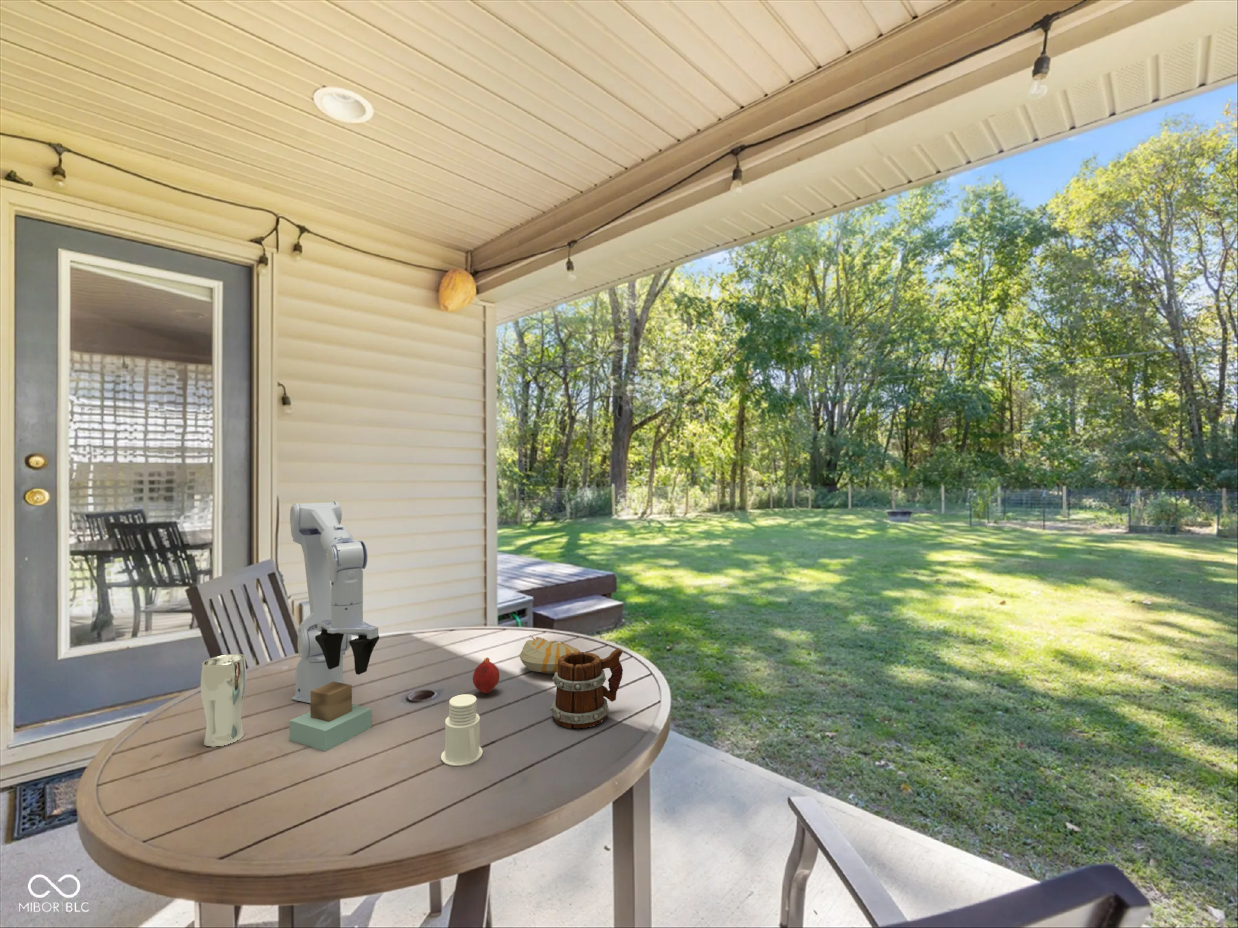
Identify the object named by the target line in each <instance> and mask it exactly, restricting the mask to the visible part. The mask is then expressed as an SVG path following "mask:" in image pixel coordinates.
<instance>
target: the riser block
mask: <svg viewBox="0 0 1238 928" xmlns="http://www.w3.org/2000/svg"><path fill="white" fill-rule="evenodd" d="M288 723H289V724H288V725H289V726H288V727H289V728H288V729H289V738H288V739H289V741H292V742H295V743H298V744H302V745H304V746H308V747H310V748H314V749H317V750H320V751H323V752H328V751H329V750H330V749H333V748H335V747H337V746H339V745H340V744H343V743H344V742H347V741H349V740H350V739H352V738H354V737H356V736H357V735H361V734H362V733H364V732H365V731H368V730H370V729H371V728H373V709H372V708H371V707H366V706H362V705H358V704H355V703H352V711H351V712H349V713H347V714H345V715H343V716H341V717H339V718H337V719H334V720H332V721H330V722H327V721H323V720H319V719H315V718H311V711H308V712H307V713H304V714H301V715H299V716H297V717H294V718H291V719H290V720H289V722H288Z"/></svg>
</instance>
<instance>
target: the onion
mask: <svg viewBox="0 0 1238 928" xmlns="http://www.w3.org/2000/svg"><path fill="white" fill-rule="evenodd" d="M490 660H491V658H489V657H484V659H483V661H482V662H481V663H480V664H479V665H477V666H476V668H475V670H474V672H473V674H472V683H473V685H474V688H475V689H477V690H478V691H479V692H481V693H483V694H484V695H487V694H489V693H491V691H492V690H494V689H495V688H496V687H497V685H498V684H499V681H500V671H499V668H498V667H497V666H496V664H494V663H493V662H491V661H490Z"/></svg>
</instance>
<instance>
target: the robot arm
mask: <svg viewBox="0 0 1238 928" xmlns="http://www.w3.org/2000/svg"><path fill="white" fill-rule="evenodd" d="M289 511H290V513H289V525H290V532H291V533H290V534H291V537H292V541H293V542H294V543H296V544H299V545H300V546H301V549H302V553H303V556H304V557H303V559H304V566H305V567H304V568H305V575H306V576H305V578H306V584H307V593H308V602H309V611H310V612H309V615H308V616H307V617H306V618H305V619H304V620H303V621H301V623H299V626H298V627H297V628H298V629H297V652H298V655H299V658H300V659H299V661H298V662H297V665H296V667H295V695H294V696H292V697H291V699H292V700H293V701H297V702H298V701H299V702H303V703H307V704H308V703H309V704H311V691H312V690H314V689H317V688H319V687H322V686H324V685H326V684H329V683H331V682H338V683H343V684H344V656H346V652H347V651H348V650H349V649H350V648H351V651H352V654H353V660H354V670H355V674H356V675H358V676H359V675H362V674H364V673H366V672H367V671H368V667H369V663H370V659H371V656H372V653H373V651H374V649H375V647H376V645H377V643H378V642H379V640H380V635H379V626H377V625H372V624H370V623H367V622H366V621H364V570H365V569H366V567H367V564H368V548H367V545H366V543H365V541H364V540H355V538H354V537H353V535H352V534H351V532H350V530H349V529H348V527H346V526H344V525H343V524H341V523H342V518H343V517H342V515H343V513H342V512H343V511H342V507H341V505H340V503H339V502H338V501H336V500H335V501H332V502H331V501H330V502H329V501H328V502H306V503H304V502H303V503H298V502H295V503H293V504H292V505H291V506H290V510H289ZM352 636H356V638H353V639H352Z"/></svg>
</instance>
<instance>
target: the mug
mask: <svg viewBox="0 0 1238 928" xmlns="http://www.w3.org/2000/svg"><path fill="white" fill-rule="evenodd" d="M622 655H623V650H622V649H620V648H616V649H614V650H612V651H611V653H609V655H608V656H606V657H605V658H601V657H600V656H599V655H598V654H595V653H593V652H587V651H586V652H585V653H584V651H580V652H575V653H569V654H567V655H563V656H561V657H560V658H559V659H558V670H557V671H556V672H555V673H553V674H554V676H553V677H552V681H553V684H554V685H555V686H556V693H555V699H554V701H553V702H552V704H551V706H550V707H549V711H551V716H553V720H554V719H555V720H554V722H555V723H556V725H558V724H559V725H558V726H560V725H561V727H562V726H563V727H562V728H565V727H567V728H566V729H570V728H571V729H572V728H573V729H574V728H585V729H588V728H587V727H590V726H593V725H596V724H597V723H600V722H601V721H602V720H604V721H605V719H606V717H607V713H608V712H609V709H610V708H609V704H608V701H610V702H613V703H614V701H616V699H617V692H618V690H619V688H620V685H621V682H622V680H623V672H624V669H623V666H622V663H621V662H620V657H621V656H622ZM605 669H609V670H610V674H611V675H610V677H609V678H608V679H607V677H606V673H605ZM606 680H607V682H608V688H607V687H606V686H604V683H605V682H606ZM607 699H608V700H607ZM605 716H606V717H605ZM604 718H605V719H604ZM601 723H602V722H601ZM601 723H600V724H601ZM597 725H598V724H597ZM597 725H596V726H597Z"/></svg>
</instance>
